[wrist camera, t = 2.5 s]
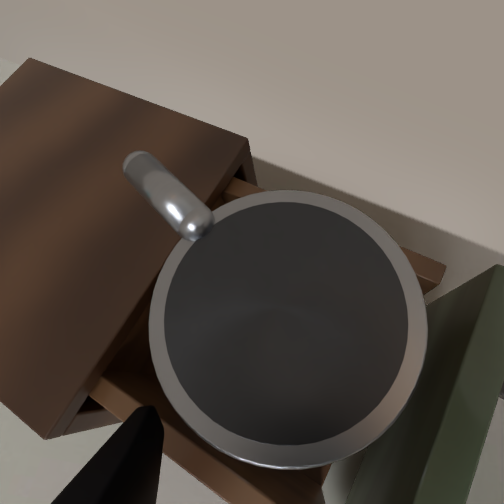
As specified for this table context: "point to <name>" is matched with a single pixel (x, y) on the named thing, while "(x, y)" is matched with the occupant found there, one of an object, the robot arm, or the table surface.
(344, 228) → the cup
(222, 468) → the drawer
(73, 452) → the table surface
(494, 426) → the table surface
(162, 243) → the cabinet
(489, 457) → the table surface
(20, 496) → the table surface
